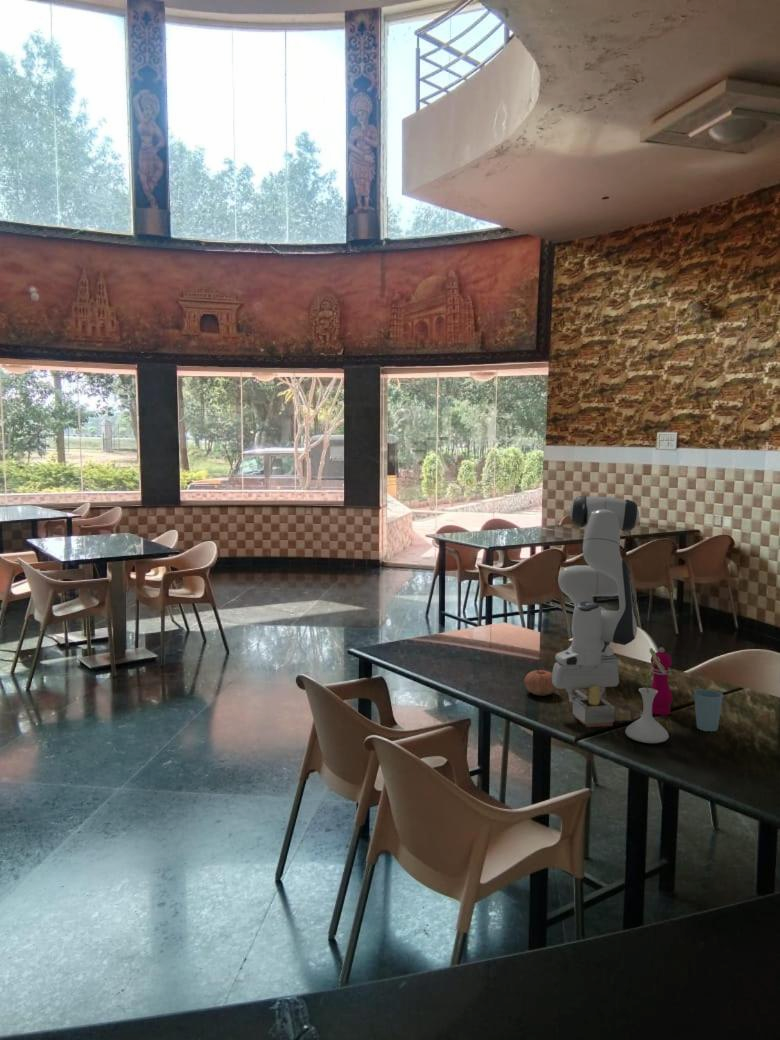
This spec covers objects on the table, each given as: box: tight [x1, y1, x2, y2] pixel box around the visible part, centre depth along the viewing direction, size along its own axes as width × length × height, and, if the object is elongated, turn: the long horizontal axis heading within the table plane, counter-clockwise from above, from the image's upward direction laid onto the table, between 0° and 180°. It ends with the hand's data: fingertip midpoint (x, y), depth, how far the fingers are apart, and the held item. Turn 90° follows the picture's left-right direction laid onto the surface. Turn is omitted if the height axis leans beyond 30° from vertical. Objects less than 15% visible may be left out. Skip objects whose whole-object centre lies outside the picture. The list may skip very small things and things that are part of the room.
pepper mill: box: [649, 646, 673, 716], centre depth 232 cm, size 7×7×20 cm
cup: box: [693, 688, 724, 733], centre depth 217 cm, size 8×8×10 cm
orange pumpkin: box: [523, 669, 557, 697], centre depth 249 cm, size 11×11×8 cm
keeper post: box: [574, 685, 614, 728], centre depth 222 cm, size 8×8×11 cm
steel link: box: [572, 689, 616, 724], centre depth 227 cm, size 17×9×4 cm, turn 9°
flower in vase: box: [625, 647, 670, 744], centre depth 208 cm, size 13×11×25 cm
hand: (585, 701), depth 229 cm, fingers open, 7 cm apart
